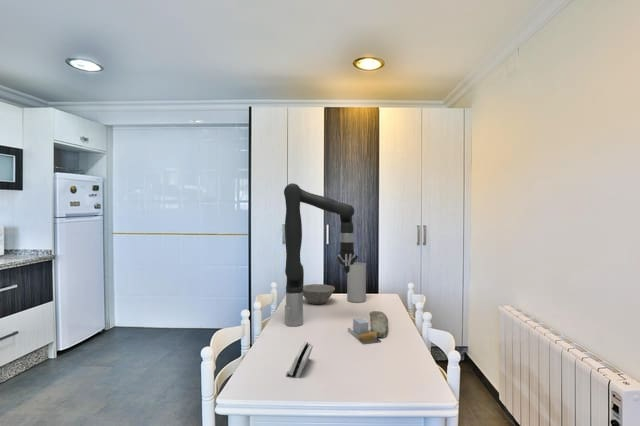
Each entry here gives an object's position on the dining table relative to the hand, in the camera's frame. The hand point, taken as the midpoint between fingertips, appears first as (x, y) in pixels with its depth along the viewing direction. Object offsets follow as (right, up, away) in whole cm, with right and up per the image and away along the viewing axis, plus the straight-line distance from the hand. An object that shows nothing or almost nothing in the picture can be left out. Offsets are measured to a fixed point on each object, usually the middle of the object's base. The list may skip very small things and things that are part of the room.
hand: (346, 272), depth 188 cm
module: (+5, -27, -19) cm, 34 cm away
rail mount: (+6, -27, -22) cm, 35 cm away
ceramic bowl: (-16, -27, +39) cm, 50 cm away
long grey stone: (+16, -27, -7) cm, 32 cm away
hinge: (-22, -28, -55) cm, 65 cm away
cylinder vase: (+10, -27, +45) cm, 53 cm away
